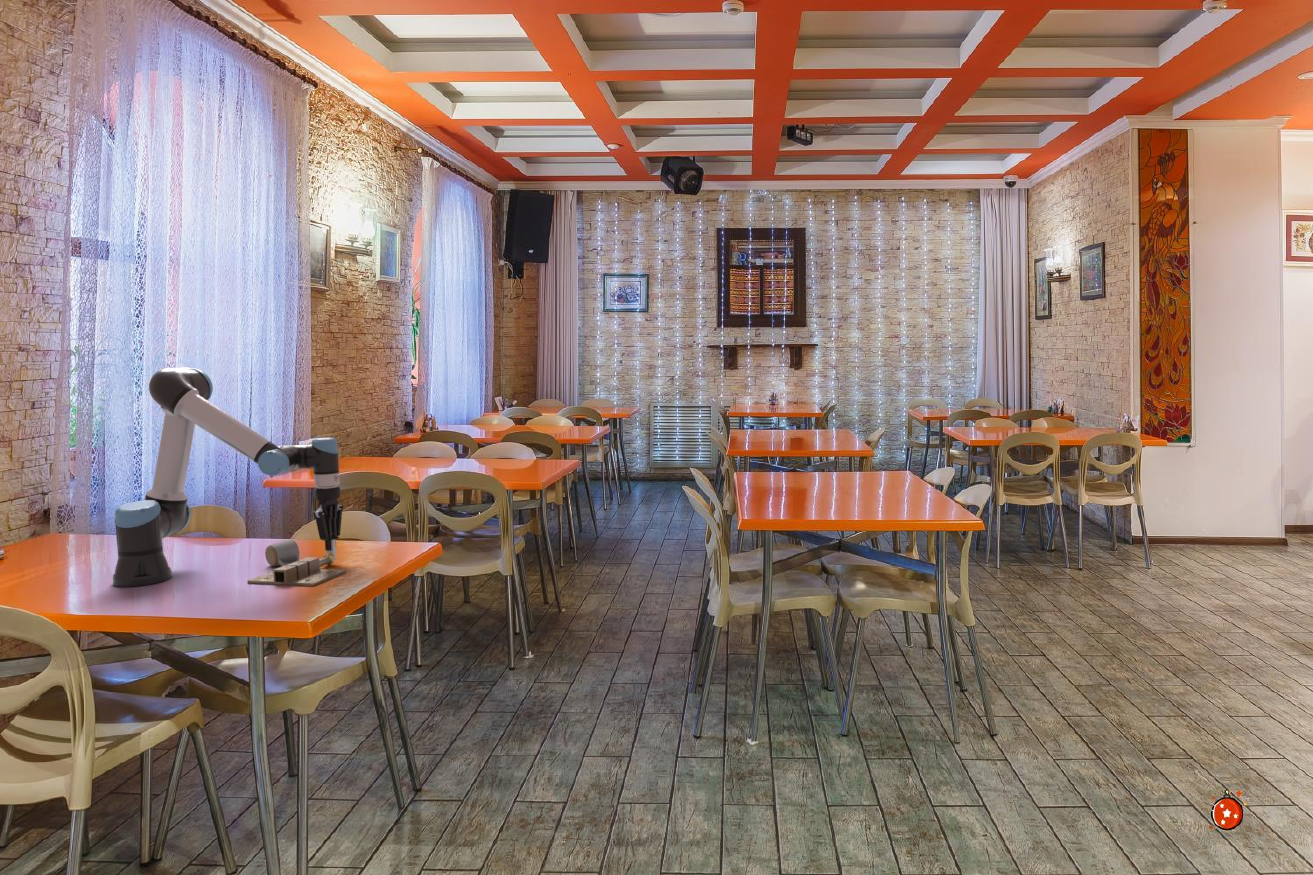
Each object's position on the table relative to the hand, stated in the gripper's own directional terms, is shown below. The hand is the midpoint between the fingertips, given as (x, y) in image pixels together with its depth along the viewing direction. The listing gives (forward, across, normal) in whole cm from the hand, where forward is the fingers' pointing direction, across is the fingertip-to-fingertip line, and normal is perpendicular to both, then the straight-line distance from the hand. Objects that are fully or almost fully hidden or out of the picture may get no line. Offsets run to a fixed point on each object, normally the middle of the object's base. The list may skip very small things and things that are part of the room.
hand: (331, 559), depth 272 cm
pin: (+2, -10, 0) cm, 10 cm away
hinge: (+2, -17, 0) cm, 17 cm away
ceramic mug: (+2, -3, +15) cm, 15 cm away
